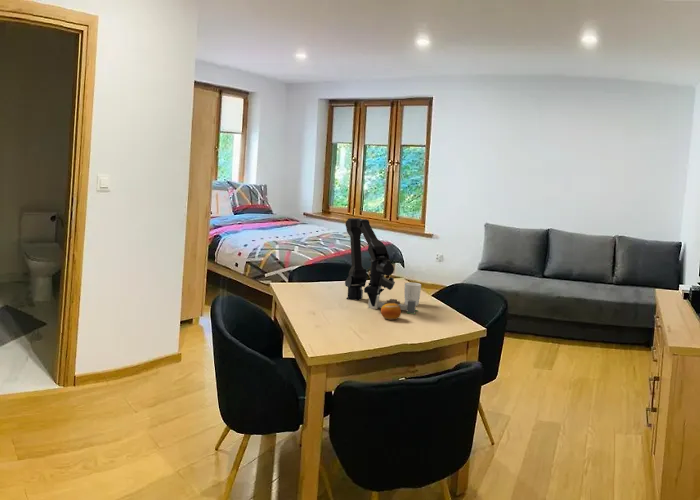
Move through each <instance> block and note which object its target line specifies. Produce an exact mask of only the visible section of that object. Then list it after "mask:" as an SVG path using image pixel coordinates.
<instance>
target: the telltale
mask: <svg viewBox="0 0 700 500" xmlns="http://www.w3.org/2000/svg"><path fill="white" fill-rule="evenodd" d="M415 304H416V301H411V300H409V301H408V309H407V310H406V313H407V312H410V313H416V311H415V310H416V306H415Z"/></svg>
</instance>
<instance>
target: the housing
mask: <svg viewBox="0 0 700 500" xmlns="http://www.w3.org/2000/svg"><path fill="white" fill-rule="evenodd" d="M388 303H395V304H397V305H398V304H401V301H400V300H399V301H398V299H395V298H390V299H389V300H388V299H387V300H386V301H385V303H384V305H385V304H388ZM416 312H419V310H417V309H415V312H414V313H410V312H407V311H406V314H408V315H409V314H411V315H416Z"/></svg>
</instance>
